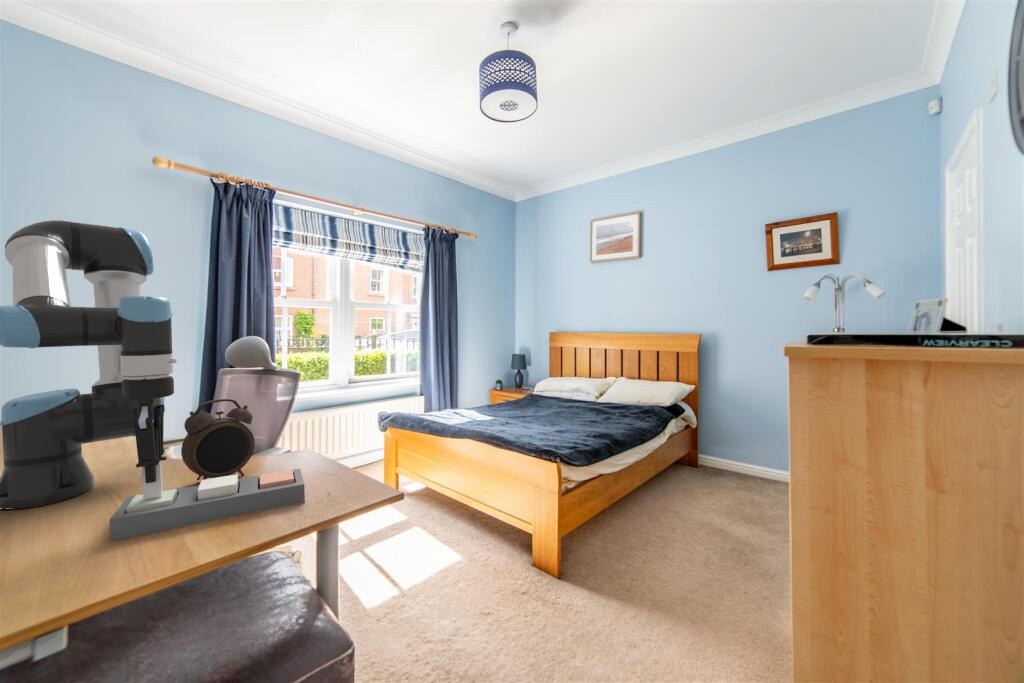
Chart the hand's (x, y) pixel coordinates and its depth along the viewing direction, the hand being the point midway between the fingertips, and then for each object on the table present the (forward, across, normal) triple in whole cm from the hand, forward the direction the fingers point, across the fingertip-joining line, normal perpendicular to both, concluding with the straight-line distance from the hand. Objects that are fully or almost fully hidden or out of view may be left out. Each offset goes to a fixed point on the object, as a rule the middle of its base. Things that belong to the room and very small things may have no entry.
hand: (153, 496), depth 80 cm
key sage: (+3, 0, 0) cm, 3 cm away
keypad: (+5, 0, -10) cm, 12 cm away
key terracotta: (+3, 0, -21) cm, 21 cm away
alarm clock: (+5, +20, -10) cm, 23 cm away
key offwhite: (+2, 0, -11) cm, 11 cm away
